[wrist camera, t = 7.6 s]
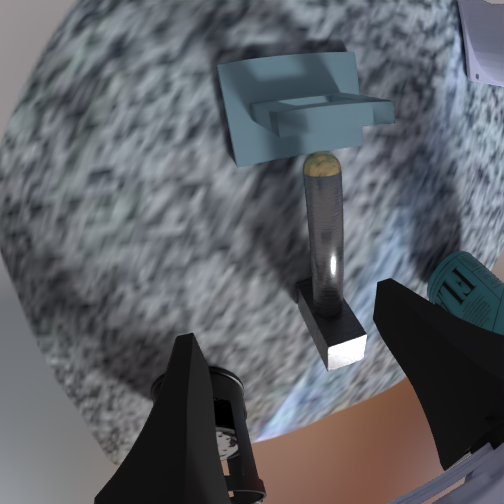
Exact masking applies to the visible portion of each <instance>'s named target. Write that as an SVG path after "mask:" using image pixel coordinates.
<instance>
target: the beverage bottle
mask: <svg viewBox="0 0 504 504" xmlns="http://www.w3.org/2000/svg"><path fill="white" fill-rule="evenodd" d="M427 295H428V298H429V301H430V302H431V303H433V304H435V305H436V306H438V307H440V308H442V309H443V310H445V311H447V312H449V313H451V314H453V315H455V316H457V317H459V318H461V319H463V320H465V321H467V322H469V323H472V324H474V325H476V326H479V327H481V328H484V329H486V330H489V331H492V332H495V333H498V334H501V335H504V284H503V283H502V282H501V281H500V280H499V279H498V278H496V277H495V276H494V275H493V274H492V272H491V271H490V270H489V269H487V268H486V267H485V266H483V265H482V263H481V262H479V261H478V260H477V259H476V258H474V257H473V256H472V255H471V254H470V253H468V252H465V251H456V252H454V253H452V254H450V255H449V256H447V257H446V258H445V259H444V260H443V261H442V262H441V263H440V264H439V265H438V266H437V268H436V269H435V271H434V272H433V274H432V276H431V278H430V280H429V283H428V287H427Z"/></svg>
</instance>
